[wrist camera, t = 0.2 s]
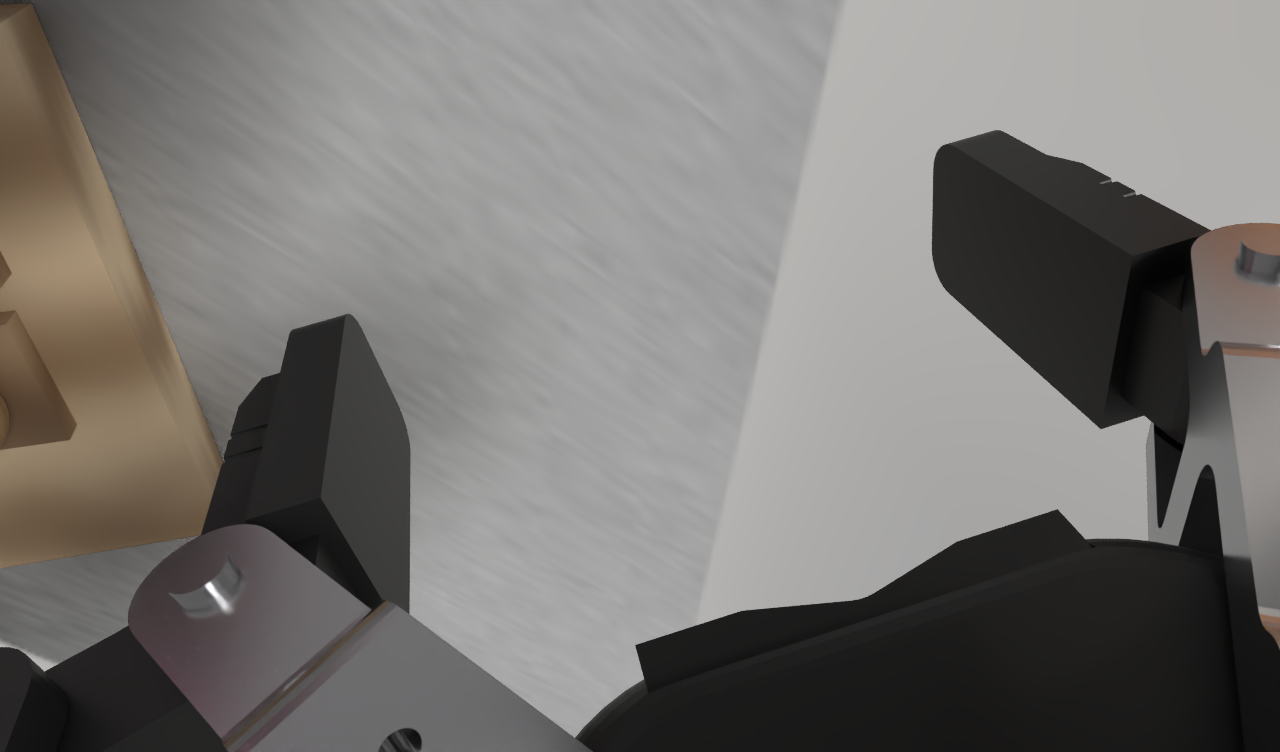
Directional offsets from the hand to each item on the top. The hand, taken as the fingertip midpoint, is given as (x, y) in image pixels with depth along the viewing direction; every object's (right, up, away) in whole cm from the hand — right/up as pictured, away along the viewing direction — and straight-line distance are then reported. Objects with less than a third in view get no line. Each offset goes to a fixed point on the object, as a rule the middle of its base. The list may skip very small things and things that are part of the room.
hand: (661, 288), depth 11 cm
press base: (-21, +1, +15) cm, 26 cm away
